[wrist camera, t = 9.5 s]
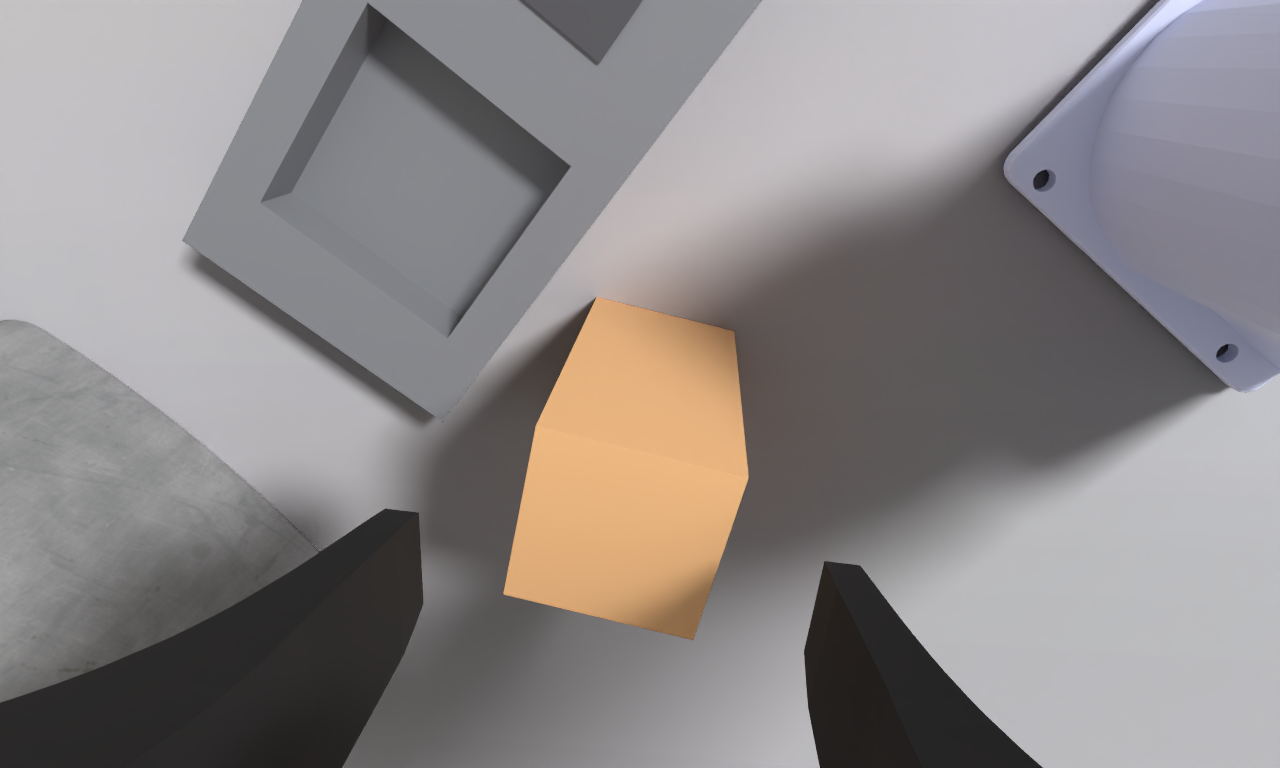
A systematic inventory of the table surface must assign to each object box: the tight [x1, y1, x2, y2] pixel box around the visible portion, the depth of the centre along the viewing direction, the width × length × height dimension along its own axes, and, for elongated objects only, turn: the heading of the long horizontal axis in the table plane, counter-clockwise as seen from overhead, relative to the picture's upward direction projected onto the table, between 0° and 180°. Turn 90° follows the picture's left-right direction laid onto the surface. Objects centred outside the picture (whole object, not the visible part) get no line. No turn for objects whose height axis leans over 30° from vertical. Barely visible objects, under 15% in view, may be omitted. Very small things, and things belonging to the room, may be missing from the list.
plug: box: [503, 297, 749, 640], centre depth 18 cm, size 4×4×8 cm
